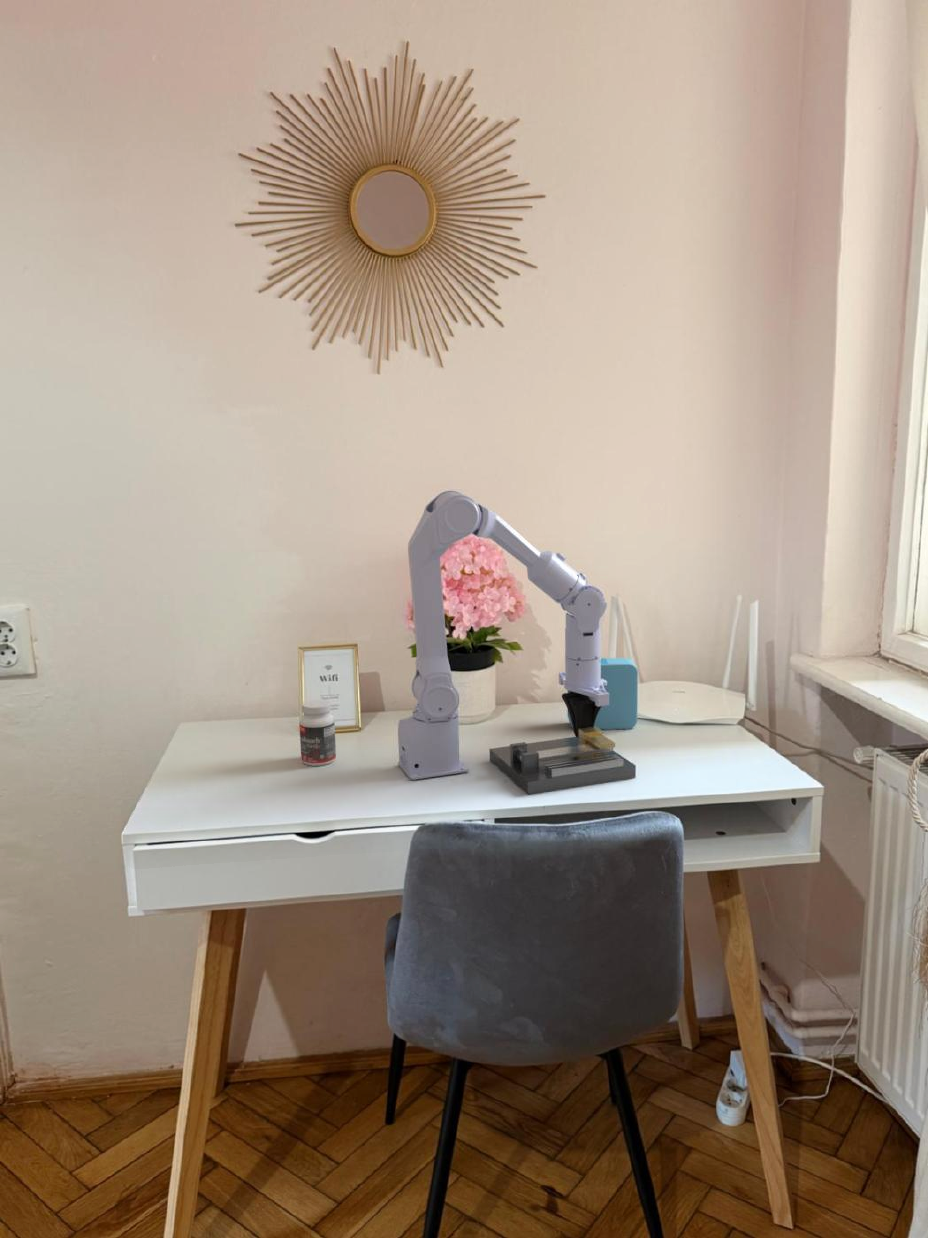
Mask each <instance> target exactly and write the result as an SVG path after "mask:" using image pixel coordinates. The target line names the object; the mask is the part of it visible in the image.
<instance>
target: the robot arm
mask: <svg viewBox="0 0 928 1238" xmlns="http://www.w3.org/2000/svg"><path fill="white" fill-rule="evenodd" d="M471 534H472V535H474V536H475V537H477V538H483V539H484V538H485V539H490V540H492V541H493V542H494V543H496V544H497V545H498V546H499V547H501V548H502V549H503V550H505V552H507V553H508V554H510V555H511V556H512V557H514V558H515V559H516V560H517V561H519V562H520V563H521V564H523V565H524V566H525V567H526V572H527V578H528V580H529V581H530V582H531V583H532V584H533V585H535V586H536V587H537V588H538V589H540V591H542V592H543V593H545V594H546V595H547V596H548V597H549V598H551V599H552V600H553V601H554V603H557V604H560V607H561V609H562V610H563V611H565V612H566V613H565V628H564V637H565V638H564V640H565V641H564V643H565V644H564V645H565V646H564V649H565V651H564V654H565V656H564V658H565V659H564V660H565V661H564V664H565V665H564V667H565V668H564V671H563V672H562V671H561V672H559V673H558V684H559V685H561V686H563V688H564V689H565V690H566V691H568V690H569V693H568V692H565V693H564V692H563V693H562V694H561V698H562V700H563V702H564V704H565V706H566V709H567V712H568V711H569V714H570V718H571V722H572V726H573V727H572V726H571V727H572V730H573V733H574V737H578V738H579V729H580V728H588V727H594V724H595V720H596V717H597V715H598V712H599V710H600V709H601V707H602V706H606V705H609V693H607V692H606V691H605V688H604V686H606V685H607V681H606V680H604V679H601V658H602V628H601V627H602V625H601V624H602V623H601V621H602V620H601V619H602V616H603V615H604V614H605V612H606V610H607V605H608V603H607V602H606V600H605V597H604V594H603V592H602V591H601V590H600V589H599V588H597V587H596V586H594V585H592V584H590V583H589V582H588V581H587V578H588V577H587V576H586V575H585V574H584V573H583V572H580V573H578V572H577V571H576V570H575V569H573V568H572V566H570V565H569V564H568V563H566V562H565V560H566V557H565V555H563V554H562V553H560V552H556V553H555V552H554V551H552V550H547V551H539V550H538V549H537V548H536V547H535V546H533V545H532V543H530V542H529V541H528V540H526V539H525V538H524V536H522V535H521V534H520V533H519V532H518V531H517V530H515V529H514V528H513V527H512V526H511V525H510V524H509V523H508V522H507V521H506V520H504V519H503V518H502V517H501V516H499V515H498V514H497V513H495V512H494V511H492V510H490V509H488V508H487V507H485V506H484V505H482V504H480V503H477V501H475V500H474V499H473V498H472V497H470V496H467V495H465V494H462V493H461V492H459V491H457V490H456V491H455V490H446V491H443V492H440V493H439V494H437V496H435V497H434V498H433V499H432V500H430V502H429V503H428V504H427V505H425V507H424V510H423V513H422V516H421V517H420V519H419V522H418V523H417V525H416V527H415V529H414V531H413V533H412V535H411V537H410V539H409V541H408V545H407V553H408V554H407V555H408V565H409V567H408V568H409V576H410V588H411V601H412V611H413V624H414V634H415V635H414V636H415V637H414V638H415V648H416V658H415V659H416V660H415V673H414V674H415V675H414V676H413V679H412V681H411V691H412V695H413V697H414V698H415V699H416V702H417V704H416V706H414V709H413V710H412V715H411V716H408V717H405V718H401V719H399V721H398V726H397V740H398V741H397V742H398V743H397V745H398V761H397V764H398V766H399V767H400V768H401V770H402V771H403V772H404V773H405V775H407V776H408V778H409V779H410V780H411V781H412V780H413V781H414V780H423V779H428V778H434V777H442V776H448V775H456V774H462V773H467V772H468V771H469V768H468V767H467V766H466V765H465V764H464V763H463V762H462V761H461V760H460V734H459V733H460V729H459V726H460V725H459V710H458V708H459V704H460V695H459V691H458V689H457V688H456V687H455V685H454V683H453V680H452V679H453V678H452V677H453V676H452V671H451V666H450V663H449V662H450V661H449V657H448V645H447V632H446V620H445V619H446V618H445V606H444V593H443V582H442V581H443V580H442V570H441V569H442V568H441V557H442V556H443V555H444V554H445V553H446V552H447V551H448V550H449V549H450V547H452V546H453V545H454V543H455V544H456V543H457V542H458V541H460V540H462V539H465V538H467V537H468V536H470V535H471Z"/></svg>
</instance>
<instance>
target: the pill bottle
mask: <svg viewBox="0 0 928 1238" xmlns="http://www.w3.org/2000/svg"><path fill="white" fill-rule="evenodd" d="M331 710H332V705H331V702H330V701H329V700H326V699H310V700H309V699H308V700H307V701H306V700H305V701H304V702H302V703H301V713H303V715H302V716H301V717H300V718H299V740H300V758H301V762H302V763H303V764H305V765H307V766H310V767H318V766H319V767H320V766H326V765H330V764H333V763H334V762H335V761H336V758H337V753H336V752H337V751H336V747H337V746H336V729H335V724H336V723H335V717H334V716H333V715H332V714H331V713H330V712H331Z"/></svg>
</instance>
